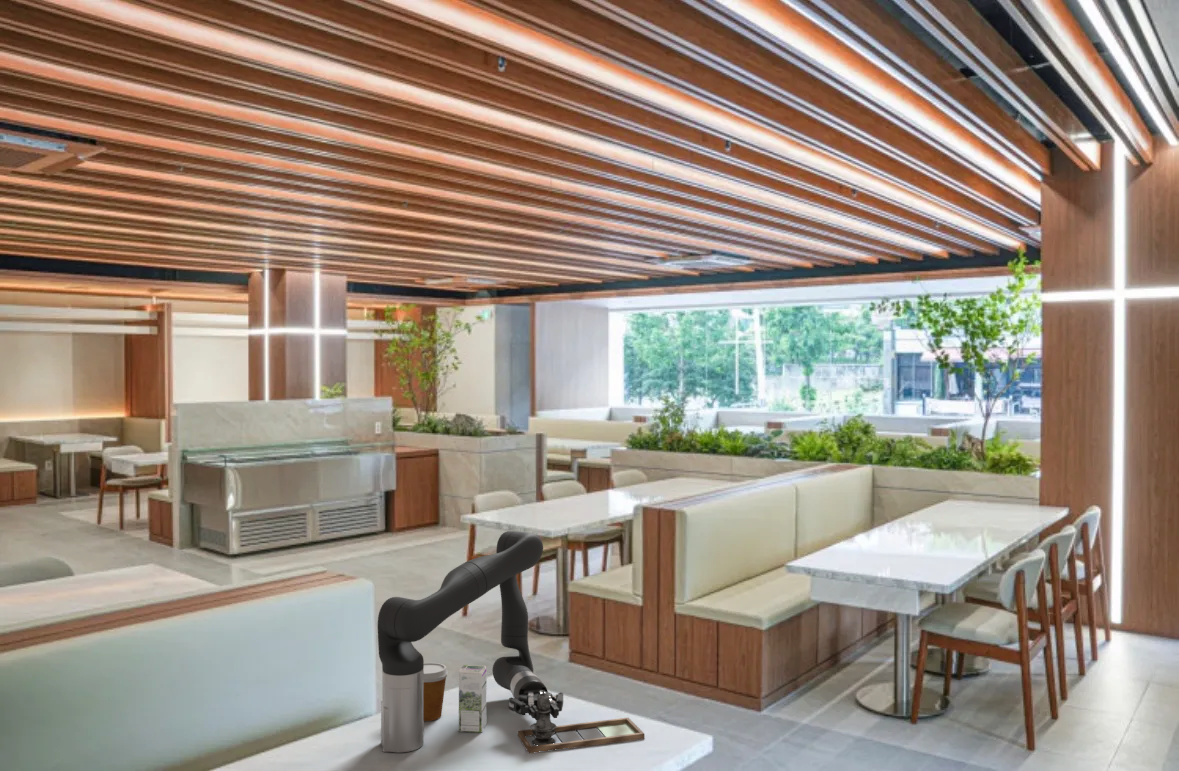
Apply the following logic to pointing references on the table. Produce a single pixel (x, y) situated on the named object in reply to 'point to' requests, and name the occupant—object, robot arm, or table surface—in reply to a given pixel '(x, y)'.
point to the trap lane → (587, 734)
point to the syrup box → (472, 698)
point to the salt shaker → (543, 722)
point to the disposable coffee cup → (433, 690)
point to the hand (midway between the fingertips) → (546, 714)
